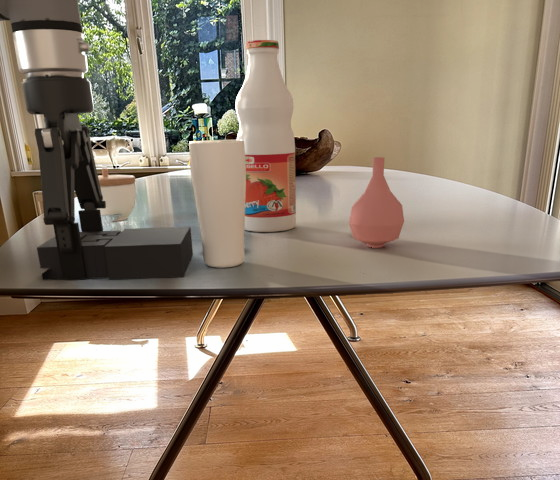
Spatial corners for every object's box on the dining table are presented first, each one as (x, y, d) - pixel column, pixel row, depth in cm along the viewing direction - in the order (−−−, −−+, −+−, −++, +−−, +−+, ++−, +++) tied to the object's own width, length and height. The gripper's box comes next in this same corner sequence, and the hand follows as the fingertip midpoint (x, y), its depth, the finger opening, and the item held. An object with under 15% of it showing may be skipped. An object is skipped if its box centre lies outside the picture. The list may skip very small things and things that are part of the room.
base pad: (75, 280, 72) (69, 247, 70) (99, 258, 83) (95, 229, 81) (183, 277, 72) (180, 243, 71) (193, 255, 83) (190, 226, 82)
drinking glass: (190, 262, 79) (180, 141, 73) (236, 255, 82) (230, 139, 76) (210, 272, 74) (201, 143, 68) (259, 265, 77) (254, 140, 71)
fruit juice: (307, 226, 102) (306, 40, 91) (269, 235, 96) (263, 36, 84) (267, 221, 108) (262, 46, 97) (229, 229, 102) (218, 42, 90)
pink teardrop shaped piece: (388, 239, 90) (392, 154, 85) (412, 249, 83) (417, 157, 78) (340, 243, 88) (341, 157, 83) (360, 253, 81) (363, 160, 77)
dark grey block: (42, 280, 73) (36, 247, 71) (66, 261, 82) (61, 232, 80) (108, 277, 73) (103, 245, 71) (125, 259, 82) (121, 230, 80)
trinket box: (111, 214, 121) (104, 165, 118) (151, 217, 116) (145, 166, 113) (70, 222, 113) (61, 170, 109) (111, 226, 108) (104, 171, 104)
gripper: (58, 68, 58) (94, 289, 67) (110, 80, 79) (132, 248, 88) (-20, 70, 58) (26, 292, 67) (53, 82, 79) (80, 250, 87)
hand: (86, 267), depth 77 cm, fingers closed on dark grey block, 10 cm apart
